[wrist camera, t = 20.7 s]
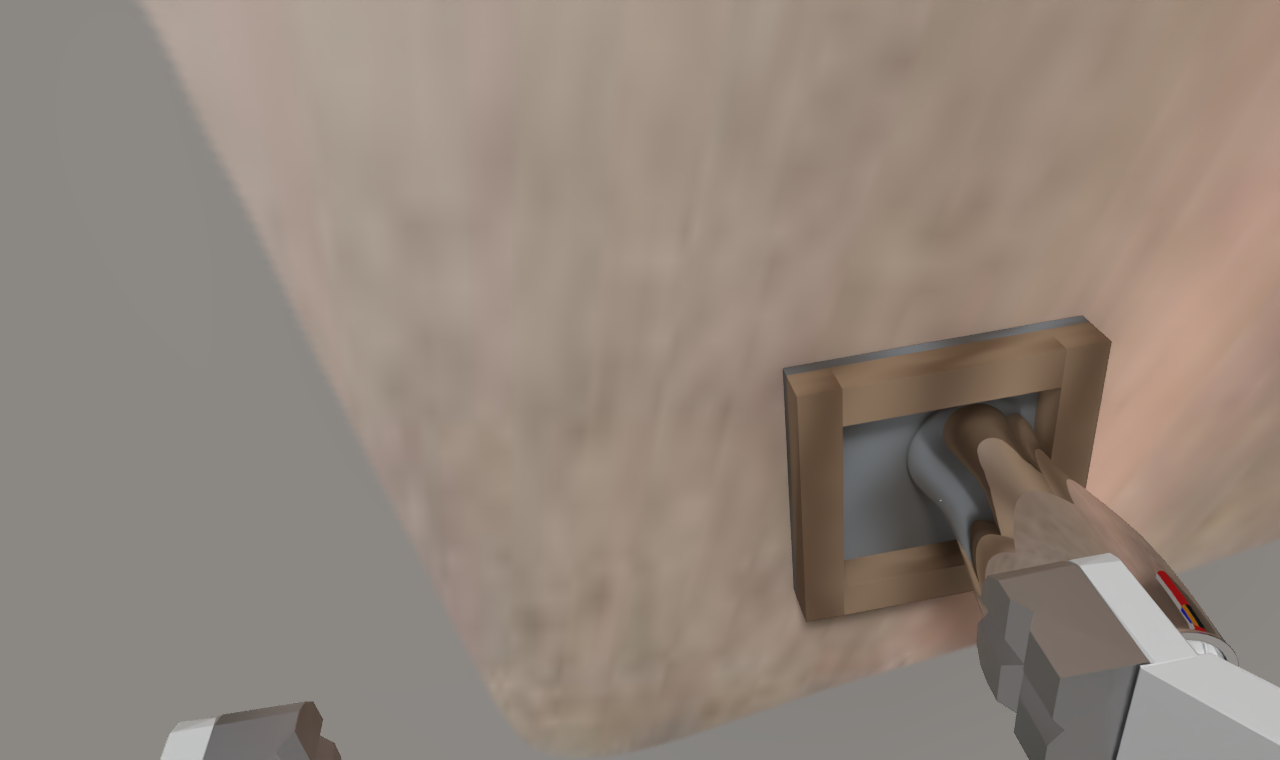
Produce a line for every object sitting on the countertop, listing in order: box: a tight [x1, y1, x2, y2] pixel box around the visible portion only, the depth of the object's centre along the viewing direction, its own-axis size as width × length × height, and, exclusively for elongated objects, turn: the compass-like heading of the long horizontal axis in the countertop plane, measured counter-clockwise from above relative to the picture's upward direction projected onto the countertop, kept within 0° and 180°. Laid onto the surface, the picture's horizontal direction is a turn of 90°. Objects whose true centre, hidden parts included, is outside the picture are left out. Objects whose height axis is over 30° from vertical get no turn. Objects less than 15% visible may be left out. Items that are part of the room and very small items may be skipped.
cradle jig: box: [783, 316, 1112, 622], centre depth 45 cm, size 14×14×2 cm
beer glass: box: [907, 398, 1239, 667], centre depth 39 cm, size 7×7×15 cm
